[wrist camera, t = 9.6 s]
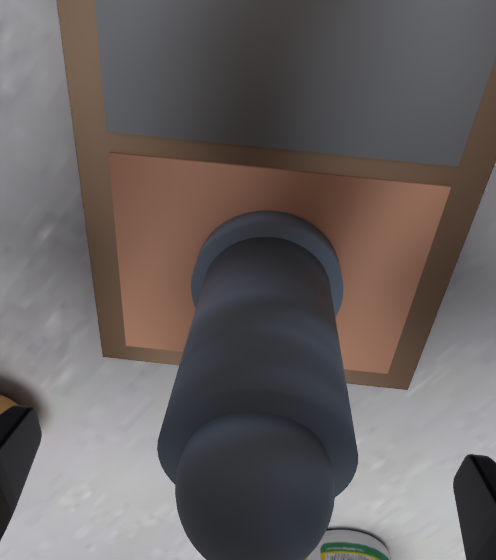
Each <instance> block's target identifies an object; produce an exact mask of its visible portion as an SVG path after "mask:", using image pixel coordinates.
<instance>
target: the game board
mask: <svg viewBox="0 0 496 560" xmlns="http://www.w3.org/2000/svg"><path fill="white" fill-rule="evenodd" d="M57 7H58V15H59V22H60V30H61V38H62V45H63V53H64V61H65V69H66V76H67V84H68V92H69V99H70V107H71V115H72V122H73V130H74V138H75V146H76V153H77V161H78V169H79V176H80V184H81V192H82V199H83V207H84V215H85V223H86V230H87V238H88V246H89V253H90V261H91V269H92V276H93V284H94V292H95V300H96V307H97V315H98V323H99V330H100V338H101V346H102V353H103V357H109V358H118V359H128V360H137V361H146V362H155V363H164V364H174V365H180V362H181V358H182V355H183V351H184V348H185V344H186V341H187V338H188V334H189V331H190V327H191V324H192V320H193V317H194V313H195V310H196V308H195V306H194V303H193V299H192V295H191V278H192V274H193V270H194V267H195V264H196V261H197V258H198V255H199V252H200V250H201V248H202V246H203V244H204V242H205V241H206V239H207V238H208V237H209V235H210V234H211V233H212V232H213V231H214V230H215V229H216V228H217V227H219V226H220V225H221V224H223V223H224V222H226V221H227V220H230V219H232V218H234V217H236V216H238V215H241V214H244V213H249V212H253V211H264V210H268V211H280V212H286V213H289V214H292V215H296V216H298V217H300V218H303V219H305V220H306V221H308V222H310V223H311V224H313V225H314V226H315V227H317V228H318V229H319V230H320V231H321V232H322V233H323V234H324V235H325V236H326V237H327V238H328V240H329V241H330V242H331V244H332V246H333V248H334V250H335V251H336V254H337V257H338V260H339V265H340V270H341V274H342V280H343V299H342V304H341V307H340V310H339V312H338V314H337V316H336V324H337V330H338V337H339V343H340V349H341V355H342V361H343V367H344V373H345V379H346V383H349V384H358V385H367V386H377V387H386V388H395V389H404V390H408V388H409V385H410V383H411V380H412V377H413V375H414V372H415V370H416V367H417V364H418V362H419V359H420V357H421V354H422V351H423V349H424V346H425V344H426V341H427V338H428V336H429V333H430V331H431V328H432V325H433V323H434V320H435V317H436V315H437V312H438V310H439V307H440V304H441V302H442V299H443V297H444V294H445V291H446V289H447V286H448V284H449V281H450V278H451V276H452V273H453V271H454V268H455V265H456V263H457V260H458V258H459V255H460V252H461V250H462V247H463V245H464V242H465V239H466V237H467V234H468V232H469V229H470V226H471V224H472V221H473V219H474V216H475V213H476V211H477V208H478V206H479V203H480V200H481V198H482V195H483V193H484V190H485V187H486V185H487V182H488V180H489V177H490V174H491V172H492V169H493V167H494V164H495V161H496V0H57Z"/></svg>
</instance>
